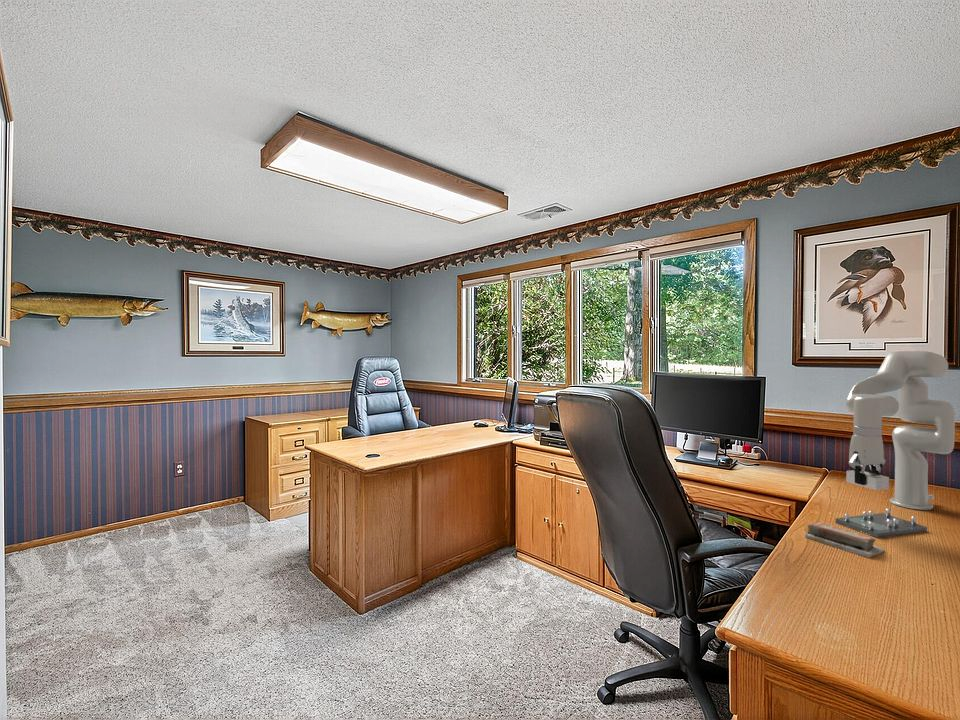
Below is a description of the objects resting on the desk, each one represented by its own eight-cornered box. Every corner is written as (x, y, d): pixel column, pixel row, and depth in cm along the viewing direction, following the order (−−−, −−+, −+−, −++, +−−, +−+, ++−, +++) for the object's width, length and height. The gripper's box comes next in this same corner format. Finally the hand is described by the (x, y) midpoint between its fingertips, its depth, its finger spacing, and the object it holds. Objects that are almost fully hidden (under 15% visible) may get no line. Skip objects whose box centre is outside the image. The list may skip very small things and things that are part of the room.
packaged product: (803, 523, 151) (819, 518, 156) (803, 538, 151) (819, 532, 156) (869, 543, 135) (885, 537, 140) (869, 559, 135) (885, 552, 140)
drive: (858, 480, 164) (858, 469, 164) (888, 488, 154) (888, 476, 154) (846, 481, 163) (846, 470, 163) (876, 490, 153) (876, 477, 153)
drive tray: (882, 516, 169) (882, 506, 169) (927, 531, 155) (927, 519, 155) (835, 522, 163) (835, 511, 163) (877, 538, 150) (877, 525, 150)
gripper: (875, 429, 164) (874, 478, 164) (837, 431, 160) (836, 482, 160) (898, 432, 156) (897, 484, 157) (859, 434, 153) (858, 488, 153)
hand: (867, 482), depth 158 cm, fingers closed on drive, 5 cm apart
